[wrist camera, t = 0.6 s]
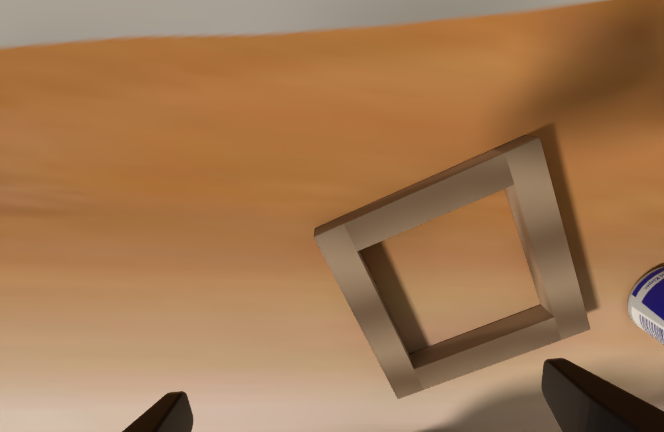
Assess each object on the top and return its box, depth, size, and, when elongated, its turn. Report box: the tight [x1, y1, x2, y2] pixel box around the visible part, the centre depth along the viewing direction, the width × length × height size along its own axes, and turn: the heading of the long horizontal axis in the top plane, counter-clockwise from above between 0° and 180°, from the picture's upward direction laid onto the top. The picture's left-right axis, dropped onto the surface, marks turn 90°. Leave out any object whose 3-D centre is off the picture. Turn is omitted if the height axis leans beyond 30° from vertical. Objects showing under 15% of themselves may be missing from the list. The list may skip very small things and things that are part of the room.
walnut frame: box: [314, 135, 590, 399], centre depth 22 cm, size 14×14×2 cm
